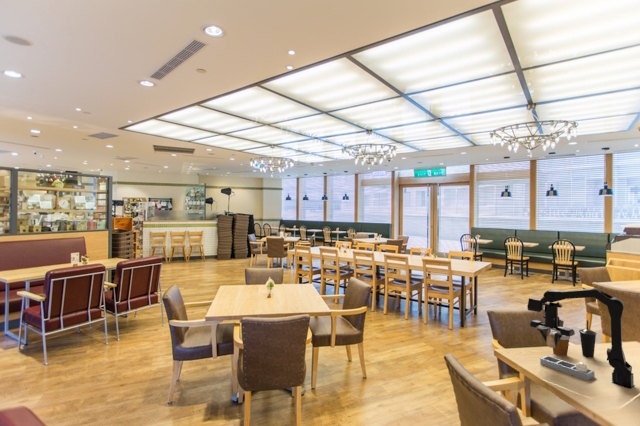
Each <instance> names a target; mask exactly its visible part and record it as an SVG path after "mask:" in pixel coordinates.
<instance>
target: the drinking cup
mask: <svg viewBox="0 0 640 426" xmlns="http://www.w3.org/2000/svg"><path fill="white" fill-rule="evenodd" d="M578 332H579V337H580V345H581V352H582V354H581V355H582V356H583V357H586V358H588V357H590V359H593V358H594V356H595V347H596V339H597V338H596V337H597V332H596V331H593V330H592V329H589V320H586V328H583V329H579V330H578Z"/></svg>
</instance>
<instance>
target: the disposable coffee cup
mask: <svg viewBox="0 0 640 426" xmlns="http://www.w3.org/2000/svg"><path fill="white" fill-rule="evenodd" d="M555 333H557V331H555V330H551V331H550V332H549V334H552V335H554V336H555ZM570 339H571V336H570V337H569V336H565V335H563V336H562V337H561V338H560V340H559V343H558V345H557V346H555V348H552V352H553V353H552V354H554V355H556V356H557V355H558V356H564V357H568V353H569V352H568V350H569V344H570Z"/></svg>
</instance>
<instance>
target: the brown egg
mask: <svg viewBox="0 0 640 426" xmlns="http://www.w3.org/2000/svg"><path fill="white" fill-rule="evenodd" d="M546 345H547V347H549V348H551V349H553V348H555V336H554V335H552V334H550V333H549V334H548V335H547V343H546Z"/></svg>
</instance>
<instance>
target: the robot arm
mask: <svg viewBox="0 0 640 426" xmlns="http://www.w3.org/2000/svg"><path fill="white" fill-rule="evenodd" d="M584 298H595V299H596V300H597V301H599V302H600V303H602V304H603V305H605V306H606V307H607V310H608V314H609V317H610V339H611V340H610V341H611V347H610V348H607V349H606V356H607V357H606V362H607V361H608V365H610V367H612V368H613V371H612V372H611V381H612V382H611V383H612V384H614V385H616V386H620V387H623V388H626V389H628V390H631V389H633V388H634V387H635V386H636V384H634V382H635V381H634V373H633V365H631V364H630V363H629V362H628V361H626V360H627V359H626V356H625V353H624V348H623V334H622V327H623V326H622V317H623V313H624V308H625V302H624V301H623V300H622V299H621V298H619V297H616V296H615V297H614V296H612V295H611V294H609V293H606V292H604V291H602V290H600V289H599V288H597V287H594V288H587V289H586V288H585V289H571V290H562V289H561V290H560V289H548V290H546V291H545V292H544V293H543V297H542V298H540V299H536V298H533V297H529V298H528V301H527V302H528V303H527V305H526V306H527V308H526V309H527V310H528V311H530V312H535V313H542V312H544V315H543V319H544V322H543V321H542V320H537V319H534V320H530V322H529V326H530V327H532V328H537V329H536V330H537V331H539V333H540V334H541V336H542V338H543V340H544V342H545V343H546V344H547V335H549V334H548V331H549V330H551V331H557V333H555V346H557V345H558V343H559V340H560V338H561V337H562V336H563V335H565V336H569V337H570V338H571V337H573V336H575V334H576V333H575V330H574V329H573V328H570V327H566V326H565V327H564V323H565V322H564V321H565V320H562V319H560V316H559V311H558V310H559V309H558V308H560V309H561V308H563V304H561V303H560V302H559V301H563V300H569V299H570V300H571V299H584Z"/></svg>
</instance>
